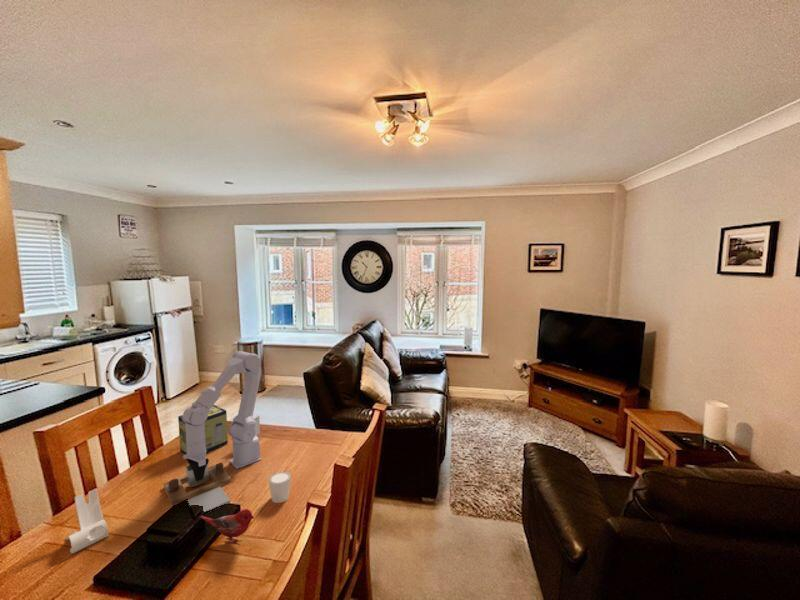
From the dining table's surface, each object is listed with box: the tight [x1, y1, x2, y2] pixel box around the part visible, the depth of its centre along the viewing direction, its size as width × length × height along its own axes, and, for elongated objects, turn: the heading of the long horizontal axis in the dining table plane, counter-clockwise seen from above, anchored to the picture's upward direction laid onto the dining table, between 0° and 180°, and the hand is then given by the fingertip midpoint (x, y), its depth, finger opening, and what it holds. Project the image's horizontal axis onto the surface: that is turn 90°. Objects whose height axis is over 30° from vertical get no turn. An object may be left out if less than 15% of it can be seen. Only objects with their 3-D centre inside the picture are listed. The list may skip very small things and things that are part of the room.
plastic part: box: [64, 487, 109, 555], centre depth 94 cm, size 8×10×12 cm
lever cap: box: [185, 463, 210, 489], centre depth 119 cm, size 6×4×6 cm, turn 135°
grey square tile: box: [186, 486, 231, 512], centre depth 110 cm, size 10×10×1 cm
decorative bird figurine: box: [198, 508, 255, 543], centre depth 94 cm, size 3×18×10 cm, turn 80°
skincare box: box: [253, 414, 261, 442], centre depth 148 cm, size 6×4×12 cm
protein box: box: [177, 404, 229, 455], centre depth 144 cm, size 10×16×16 cm
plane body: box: [163, 462, 232, 507], centre depth 119 cm, size 18×13×4 cm
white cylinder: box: [268, 471, 291, 504], centre depth 112 cm, size 7×7×7 cm
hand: (197, 476), depth 119 cm, fingers closed on lever cap, 4 cm apart
